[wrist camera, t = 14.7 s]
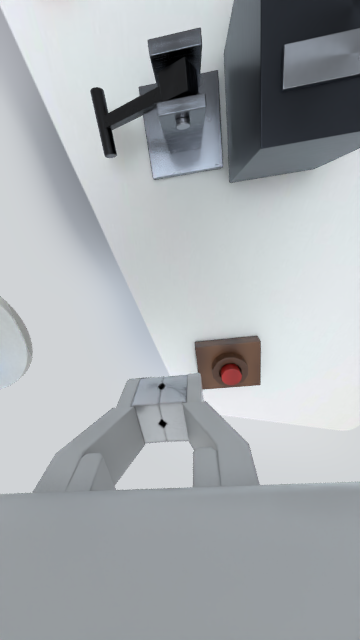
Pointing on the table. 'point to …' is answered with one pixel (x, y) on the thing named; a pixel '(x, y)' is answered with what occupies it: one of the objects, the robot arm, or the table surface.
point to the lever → (144, 100)
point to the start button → (231, 374)
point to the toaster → (291, 85)
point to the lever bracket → (183, 113)
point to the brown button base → (229, 360)
